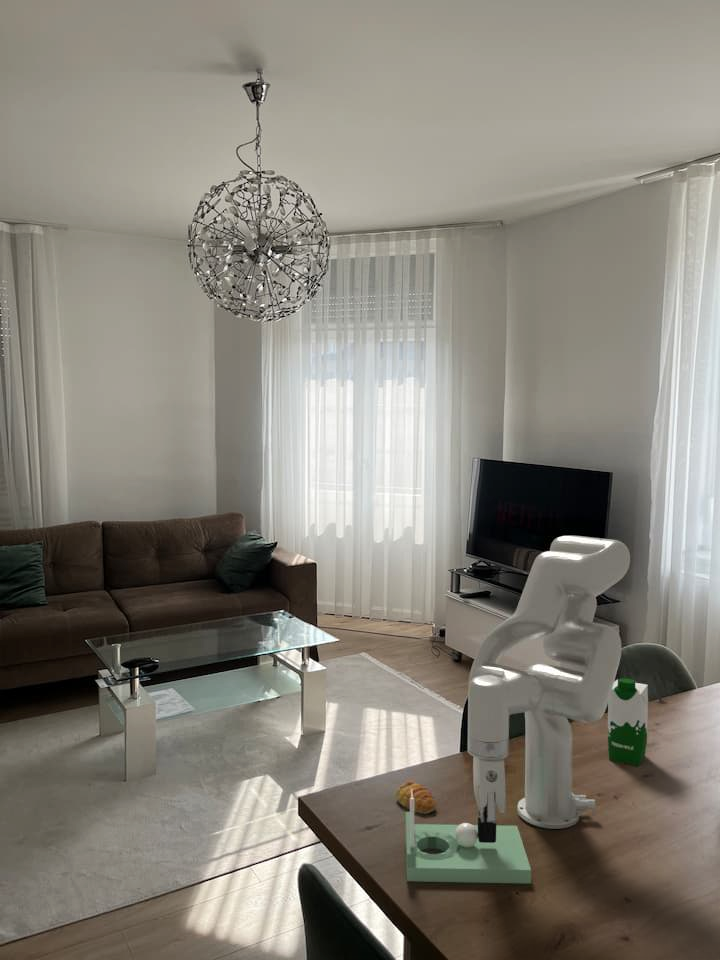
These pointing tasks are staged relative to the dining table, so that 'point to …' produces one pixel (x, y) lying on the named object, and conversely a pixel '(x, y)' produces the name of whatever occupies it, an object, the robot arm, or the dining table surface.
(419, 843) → the mat
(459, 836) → the ball
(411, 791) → the flag
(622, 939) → the dining table surface
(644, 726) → the milk carton
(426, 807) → the pastry
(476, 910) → the dining table surface
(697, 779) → the dining table surface
